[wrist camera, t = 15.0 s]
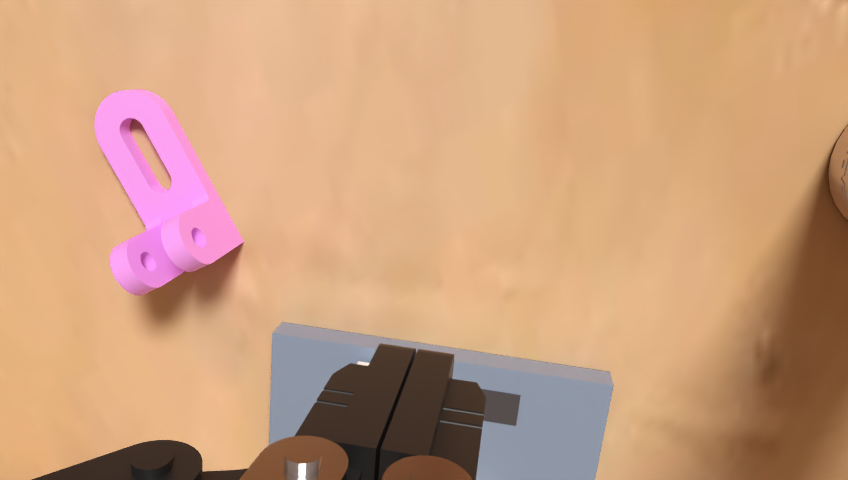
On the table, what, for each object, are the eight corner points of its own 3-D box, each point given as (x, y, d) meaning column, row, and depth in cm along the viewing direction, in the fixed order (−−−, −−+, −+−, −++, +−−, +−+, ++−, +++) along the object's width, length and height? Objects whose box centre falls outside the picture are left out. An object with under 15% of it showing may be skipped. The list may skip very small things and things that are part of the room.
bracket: (244, 241, 48) (199, 271, 41) (183, 269, 49) (130, 303, 43) (154, 75, 46) (90, 79, 39) (92, 110, 47) (21, 119, 40)
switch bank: (609, 372, 46) (613, 386, 44) (573, 557, 51) (575, 577, 49) (282, 322, 49) (272, 333, 47) (276, 502, 54) (266, 519, 52)
